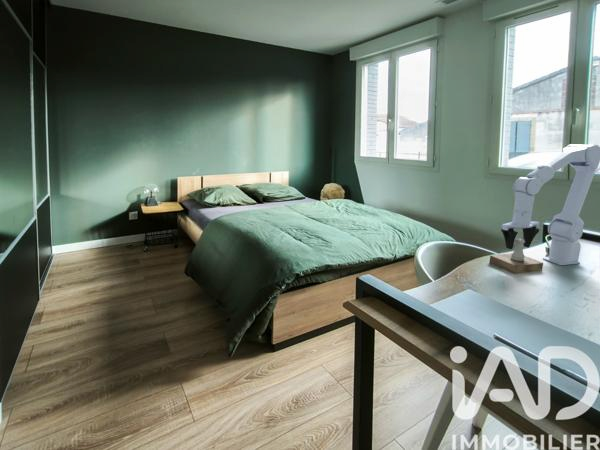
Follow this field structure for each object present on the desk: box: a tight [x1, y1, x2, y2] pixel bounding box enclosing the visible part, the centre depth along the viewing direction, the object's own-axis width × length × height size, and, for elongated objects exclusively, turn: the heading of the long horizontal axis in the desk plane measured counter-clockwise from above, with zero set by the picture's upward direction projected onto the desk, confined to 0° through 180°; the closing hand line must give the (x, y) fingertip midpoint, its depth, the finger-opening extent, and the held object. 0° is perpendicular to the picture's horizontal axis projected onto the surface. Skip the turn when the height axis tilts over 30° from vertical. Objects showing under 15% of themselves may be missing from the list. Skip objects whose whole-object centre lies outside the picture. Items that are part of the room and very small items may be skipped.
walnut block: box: [489, 252, 544, 275], centre depth 135 cm, size 12×12×3 cm
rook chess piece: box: [511, 237, 526, 261], centre depth 133 cm, size 4×4×8 cm
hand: (517, 247), depth 134 cm, fingers open, 7 cm apart
